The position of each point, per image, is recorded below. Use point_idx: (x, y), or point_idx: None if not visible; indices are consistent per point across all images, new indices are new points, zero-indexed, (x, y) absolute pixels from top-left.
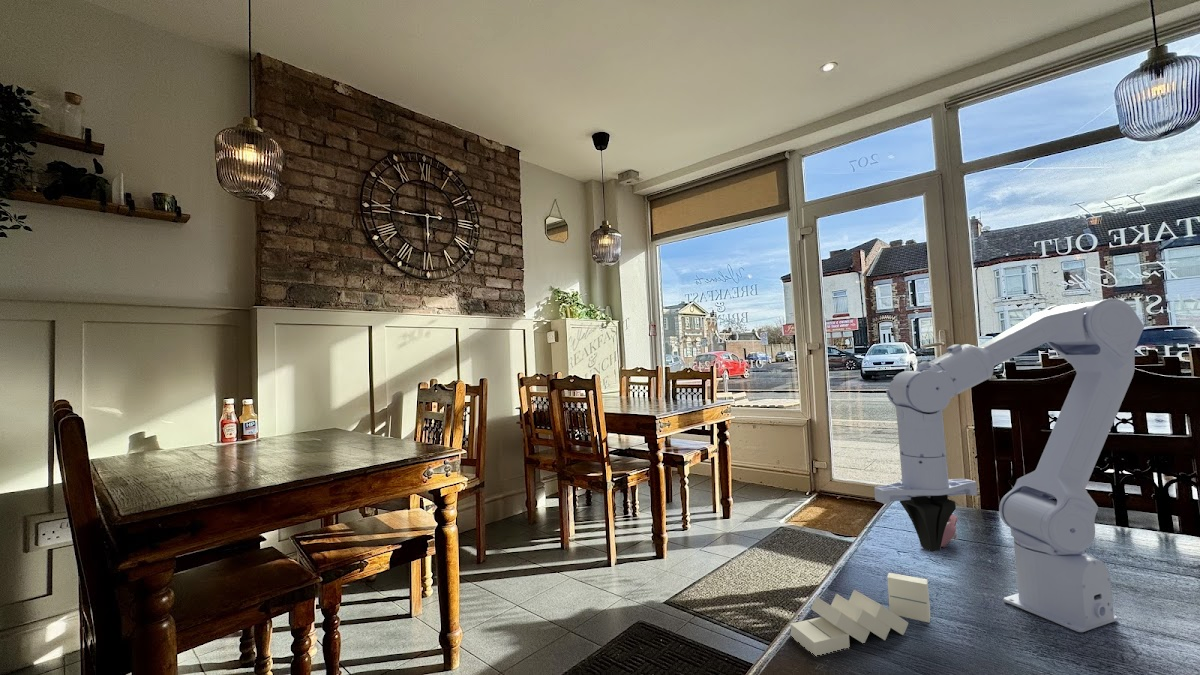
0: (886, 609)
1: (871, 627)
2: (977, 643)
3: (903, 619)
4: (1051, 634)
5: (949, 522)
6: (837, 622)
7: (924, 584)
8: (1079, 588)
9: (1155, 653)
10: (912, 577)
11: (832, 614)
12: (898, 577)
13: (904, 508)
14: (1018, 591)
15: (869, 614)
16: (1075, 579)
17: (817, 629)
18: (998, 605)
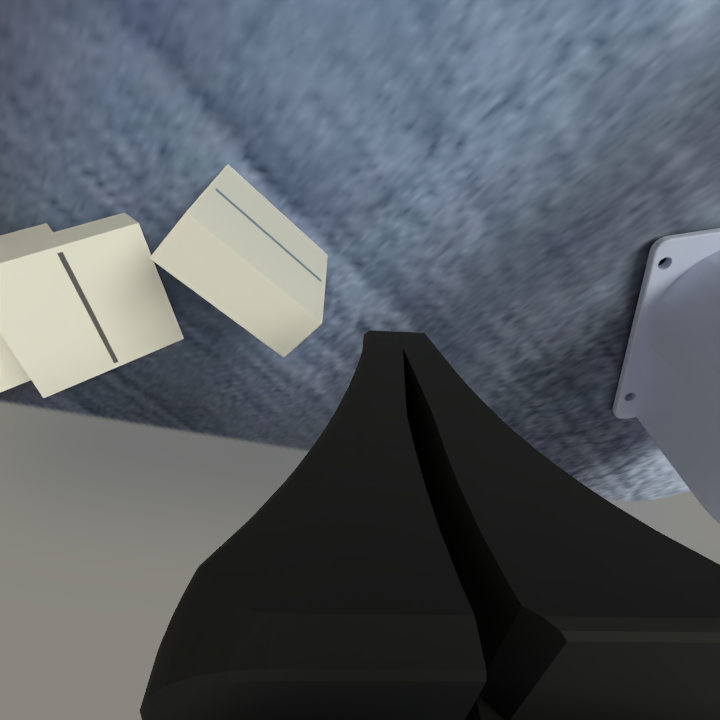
0: (73, 384)
1: None
2: (342, 389)
3: (160, 348)
4: (551, 397)
5: None
6: None
7: (278, 351)
8: (698, 496)
9: (646, 477)
10: (269, 292)
11: None
12: (205, 273)
13: (260, 509)
14: (710, 280)
15: (2, 391)
16: (717, 511)
17: None
18: (612, 249)
